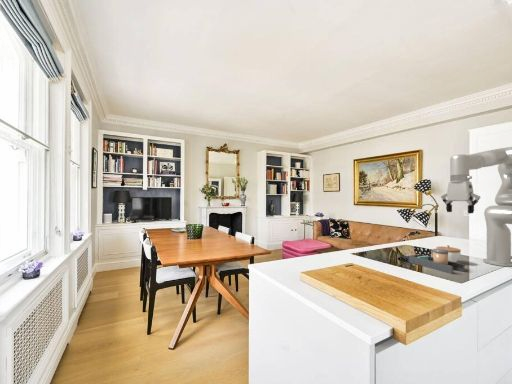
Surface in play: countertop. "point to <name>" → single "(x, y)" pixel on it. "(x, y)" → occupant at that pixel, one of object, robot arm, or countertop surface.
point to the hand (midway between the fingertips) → (459, 212)
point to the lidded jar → (451, 253)
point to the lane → (436, 264)
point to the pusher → (424, 257)
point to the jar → (440, 256)
